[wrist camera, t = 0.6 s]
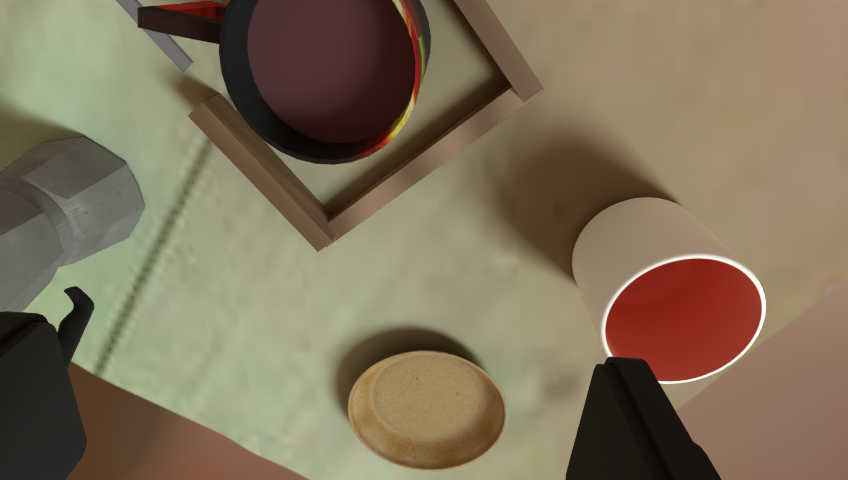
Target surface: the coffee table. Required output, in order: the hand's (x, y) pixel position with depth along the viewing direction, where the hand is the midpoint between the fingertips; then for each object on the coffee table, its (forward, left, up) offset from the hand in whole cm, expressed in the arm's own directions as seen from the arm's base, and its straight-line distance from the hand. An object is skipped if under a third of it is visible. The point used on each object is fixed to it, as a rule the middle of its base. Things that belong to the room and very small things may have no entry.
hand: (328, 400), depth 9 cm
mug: (+3, -6, -31) cm, 31 cm away
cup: (-6, +20, -31) cm, 37 cm away
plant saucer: (+17, +23, -31) cm, 42 cm away
